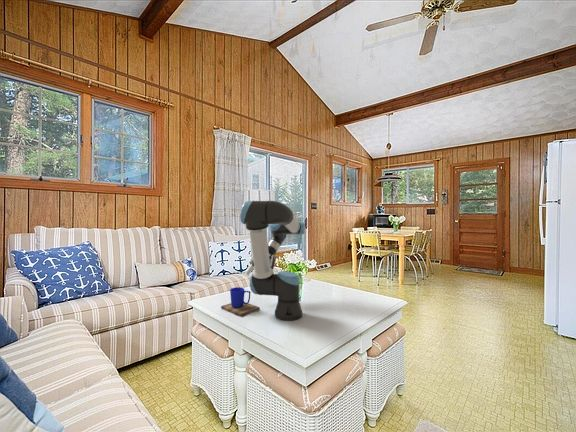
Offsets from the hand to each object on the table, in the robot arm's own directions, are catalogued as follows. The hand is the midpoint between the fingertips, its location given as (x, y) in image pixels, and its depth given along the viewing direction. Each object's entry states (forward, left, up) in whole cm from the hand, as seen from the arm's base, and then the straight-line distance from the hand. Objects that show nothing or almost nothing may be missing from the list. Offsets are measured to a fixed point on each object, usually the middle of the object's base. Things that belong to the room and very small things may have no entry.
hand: (254, 275), depth 169 cm
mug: (0, +10, -16) cm, 19 cm away
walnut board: (0, +11, -18) cm, 21 cm away
